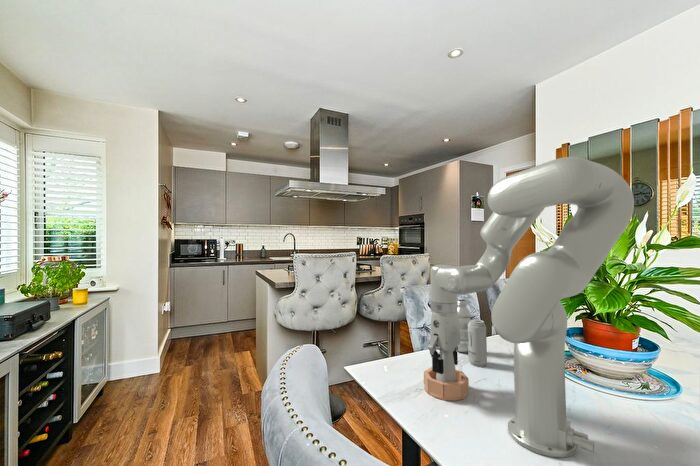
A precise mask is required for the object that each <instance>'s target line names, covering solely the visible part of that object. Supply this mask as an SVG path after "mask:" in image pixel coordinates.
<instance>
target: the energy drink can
mask: <svg viewBox="0 0 700 466" xmlns="http://www.w3.org/2000/svg"><path fill="white" fill-rule="evenodd" d="M469 321H470V322H469V324H468V352H467V354H468V356H467V357H468V361H469V363H470V365H472V366H475V367H481V368H482V367H485V366H486V365H487V363H488V352H487V351H488V349H487V347H488V346H487V345H488V343H487V326H486V324H485V321H484V320H482V319H477V318H476V319H475V318H474V319H471V318H470V320H469Z"/></svg>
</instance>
